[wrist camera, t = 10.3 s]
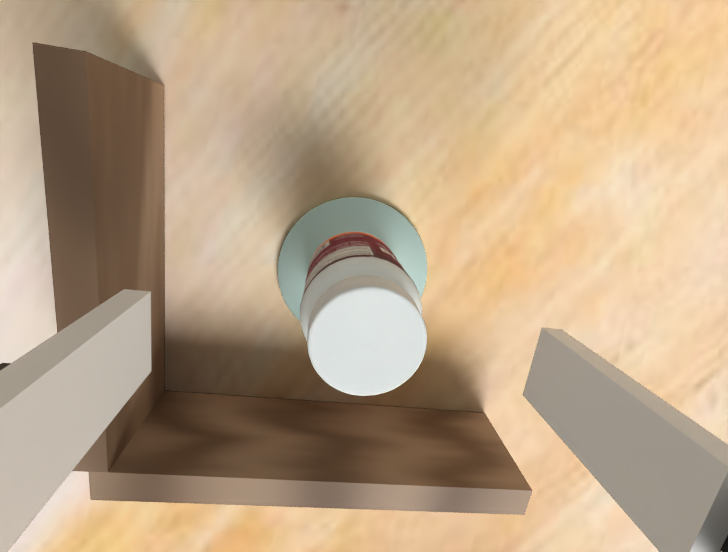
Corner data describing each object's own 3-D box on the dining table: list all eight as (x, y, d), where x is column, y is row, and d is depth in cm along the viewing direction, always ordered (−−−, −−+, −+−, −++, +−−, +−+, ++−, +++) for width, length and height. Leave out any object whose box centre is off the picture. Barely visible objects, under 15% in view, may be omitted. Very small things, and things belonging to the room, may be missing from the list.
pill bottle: (408, 296, 21) (456, 378, 13) (327, 325, 21) (327, 425, 13) (380, 214, 20) (415, 253, 12) (293, 247, 20) (271, 307, 12)
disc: (272, 332, 22) (272, 334, 21) (284, 186, 19) (284, 187, 19) (411, 344, 23) (413, 347, 22) (438, 207, 20) (440, 208, 20)
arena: (137, 411, 22) (71, 498, 17) (129, 80, 17) (32, 42, 12) (479, 432, 25) (524, 514, 19) (554, 149, 20) (645, 146, 14)
